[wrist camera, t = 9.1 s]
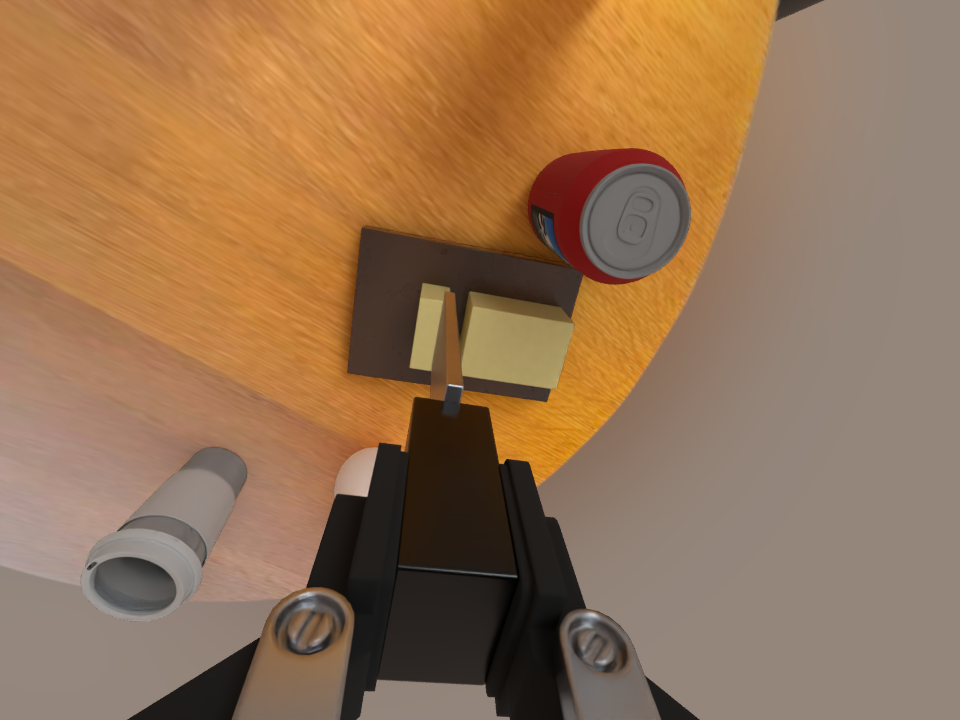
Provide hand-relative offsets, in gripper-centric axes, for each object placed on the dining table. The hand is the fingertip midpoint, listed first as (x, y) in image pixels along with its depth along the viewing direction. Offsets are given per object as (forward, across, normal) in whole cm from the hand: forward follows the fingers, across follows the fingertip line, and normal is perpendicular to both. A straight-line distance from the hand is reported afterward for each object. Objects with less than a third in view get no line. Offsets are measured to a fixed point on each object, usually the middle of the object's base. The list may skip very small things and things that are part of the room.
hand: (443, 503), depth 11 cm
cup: (+25, +16, +20) cm, 36 cm away
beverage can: (+25, -8, -7) cm, 27 cm away
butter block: (+24, -6, +3) cm, 24 cm away
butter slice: (+24, 0, +3) cm, 24 cm away
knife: (+13, 0, 0) cm, 13 cm away
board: (+25, -2, +3) cm, 25 cm away
